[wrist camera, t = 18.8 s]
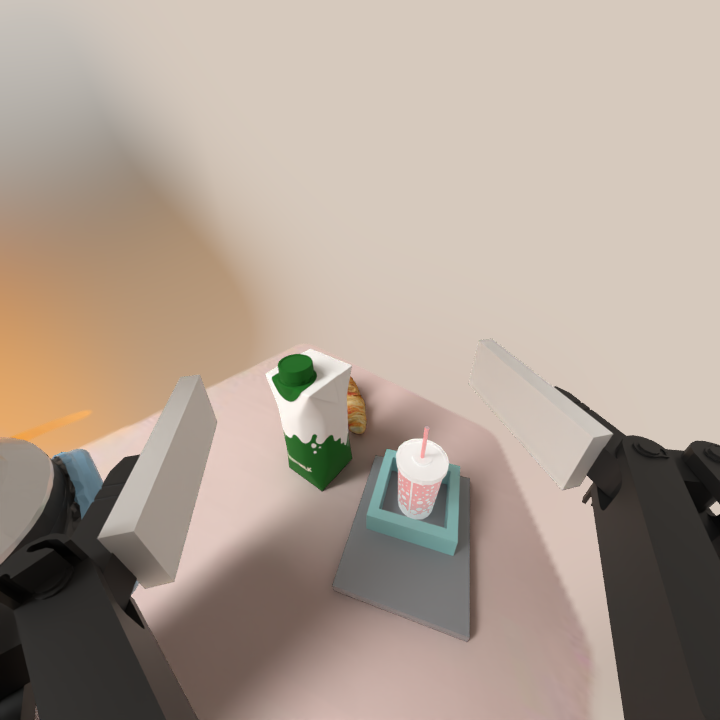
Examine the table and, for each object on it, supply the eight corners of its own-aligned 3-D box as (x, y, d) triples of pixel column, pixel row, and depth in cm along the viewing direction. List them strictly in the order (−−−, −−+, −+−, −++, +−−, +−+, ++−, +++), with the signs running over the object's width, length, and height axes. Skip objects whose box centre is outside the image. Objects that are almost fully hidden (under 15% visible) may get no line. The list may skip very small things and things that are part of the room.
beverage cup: (445, 496, 40) (463, 421, 32) (427, 535, 35) (444, 459, 28) (404, 475, 43) (413, 401, 35) (383, 509, 38) (388, 433, 31)
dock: (467, 641, 28) (476, 626, 26) (332, 590, 32) (330, 572, 30) (468, 483, 43) (473, 464, 41) (375, 460, 46) (376, 441, 44)
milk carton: (280, 468, 45) (254, 359, 35) (320, 433, 51) (309, 331, 41) (322, 500, 41) (307, 386, 30) (361, 457, 47) (359, 349, 36)
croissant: (376, 444, 54) (394, 408, 52) (332, 448, 47) (351, 407, 45) (323, 384, 68) (336, 354, 66) (284, 381, 62) (297, 347, 60)
